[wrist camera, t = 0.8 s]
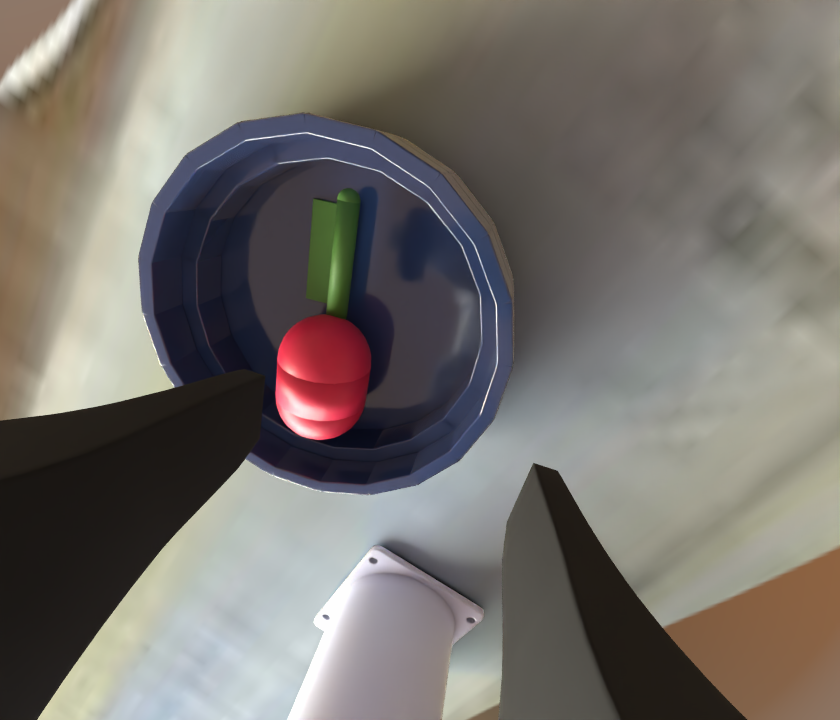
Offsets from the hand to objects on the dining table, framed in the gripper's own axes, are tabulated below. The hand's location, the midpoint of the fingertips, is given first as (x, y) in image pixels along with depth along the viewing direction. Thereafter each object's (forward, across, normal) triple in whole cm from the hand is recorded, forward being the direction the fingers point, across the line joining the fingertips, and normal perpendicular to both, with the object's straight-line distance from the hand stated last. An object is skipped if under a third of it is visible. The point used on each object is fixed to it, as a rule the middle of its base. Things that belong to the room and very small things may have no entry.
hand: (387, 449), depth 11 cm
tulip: (+9, +5, 0) cm, 10 cm away
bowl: (+10, +5, 0) cm, 11 cm away
